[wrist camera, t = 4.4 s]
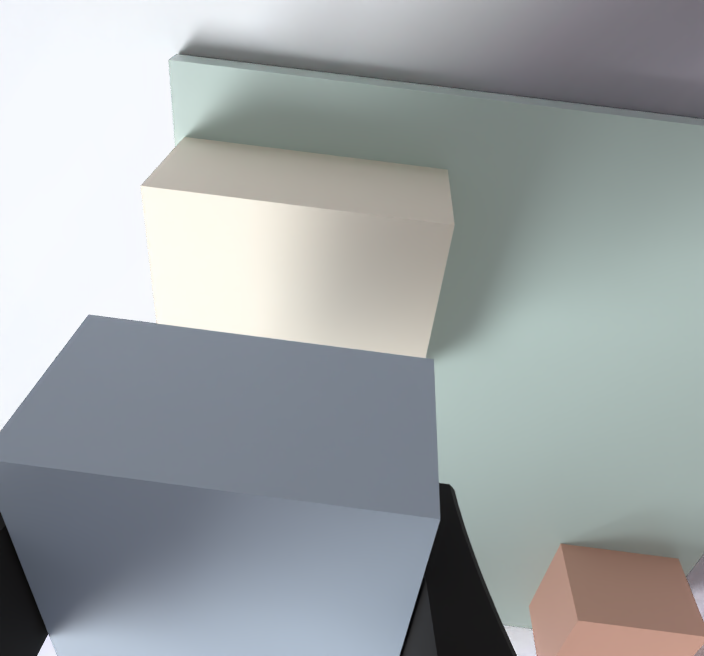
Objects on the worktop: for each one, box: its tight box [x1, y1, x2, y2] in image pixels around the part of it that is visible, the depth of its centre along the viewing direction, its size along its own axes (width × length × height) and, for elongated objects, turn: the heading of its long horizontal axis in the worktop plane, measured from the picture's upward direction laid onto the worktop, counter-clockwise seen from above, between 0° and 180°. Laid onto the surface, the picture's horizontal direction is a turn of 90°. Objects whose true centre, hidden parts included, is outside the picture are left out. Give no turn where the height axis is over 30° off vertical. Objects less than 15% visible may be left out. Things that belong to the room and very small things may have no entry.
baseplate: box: [169, 54, 704, 629], centre depth 21 cm, size 22×19×1 cm
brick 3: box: [529, 544, 704, 656], centre depth 23 cm, size 4×4×3 cm
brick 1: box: [141, 137, 455, 358], centre depth 16 cm, size 6×6×3 cm
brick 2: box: [0, 315, 440, 656], centre depth 10 cm, size 6×6×3 cm
